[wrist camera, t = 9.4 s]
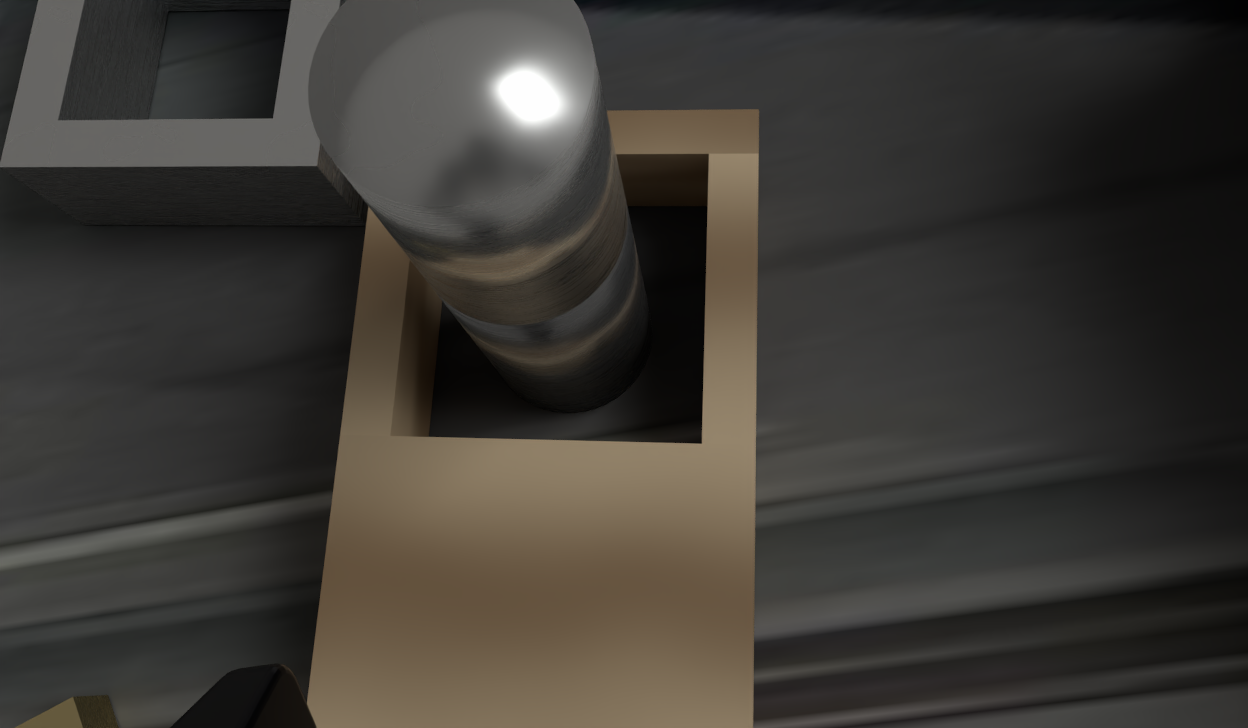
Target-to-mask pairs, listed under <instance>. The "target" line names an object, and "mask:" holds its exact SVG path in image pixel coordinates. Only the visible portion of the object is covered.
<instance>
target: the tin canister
mask: <svg viewBox="0 0 1248 728" xmlns="http://www.w3.org/2000/svg"><path fill="white" fill-rule="evenodd" d="M308 101H309V109H310V114H311V119H312V122H313V125H314V128H315V131H316V134H317V136H318V138H319V140H320V142H321V144H322V146H323V147H324V149H325V151H326V152H327V154H328V155H329V156H330V158H331V159H332V160H333V161H334V163H335V164H336V165H337V167H338V168H339V169H340V171H341V172H342V173H343V174H344V176H345V177H346V178H347V180H348V181H349V182H350V183H351V185H352V186H353V187H354V188H355V190H356V191H357V192H358V194H359V195H360V196H361V197H362V199H363V200H364V201H365V203H366V204H367V205H368V206H369V208H370V209H371V210H372V212H373V213H374V214H375V215H376V217H377V218H378V219H379V220H380V222H381V223H382V224H383V226H384V227H385V228H386V229H387V231H388V232H389V233H390V235H391V236H392V237H393V238H394V240H395V241H396V242H397V244H398V245H399V246H400V247H401V249H402V250H403V251H404V253H405V254H406V255H407V256H408V258H409V259H410V260H411V261H412V263H413V264H414V265H415V267H416V268H417V269H418V270H419V272H420V273H421V274H422V276H423V277H424V278H425V279H426V281H427V282H428V283H429V285H430V286H431V287H432V288H433V290H434V291H435V292H436V294H437V295H438V296H439V297H440V299H441V300H442V301H443V302H444V304H445V305H446V306H447V308H448V309H449V310H450V311H451V313H452V314H453V315H454V317H455V318H456V319H457V320H458V322H459V323H460V324H461V326H462V327H463V328H464V329H465V331H466V332H467V333H468V334H469V336H470V337H471V338H472V340H473V341H474V342H475V343H476V345H477V346H478V347H479V349H480V350H481V351H482V352H483V354H484V355H485V356H486V358H487V359H488V360H489V361H490V363H491V364H492V365H493V367H494V368H495V369H496V370H497V372H498V373H499V374H500V375H501V377H502V378H503V379H504V381H505V382H506V383H507V384H508V386H509V387H510V388H511V389H512V390H513V391H514V392H515V393H516V394H517V395H519V396H520V397H521V398H523V399H524V400H525V401H527V402H529V403H531V404H533V405H535V406H537V407H540V408H542V409H546V410H550V411H554V412H563V413H575V412H582V411H588V410H591V409H595V408H598V407H600V406H602V405H605V404H607V403H609V402H610V401H612V400H614V399H616V398H617V397H618V396H620V395H621V394H622V393H624V392H625V391H626V390H627V389H628V388H629V387H630V386H631V385H632V384H633V383H634V381H635V380H636V379H637V377H638V376H639V375H640V373H641V371H642V369H643V368H644V366H645V364H646V361H647V359H648V356H649V353H650V349H651V344H652V320H651V314H650V310H649V305H648V300H647V296H646V291H645V286H644V282H643V277H642V273H641V268H640V263H639V259H638V254H637V249H636V245H635V240H634V235H633V231H632V226H631V222H630V217H629V212H628V208H627V203H626V198H625V194H624V189H623V185H622V180H621V175H620V171H619V166H618V161H617V157H616V152H615V147H614V143H613V138H612V134H611V129H610V124H609V120H608V115H607V110H606V106H605V101H604V97H603V92H602V87H601V83H600V78H599V73H598V69H597V64H596V59H595V55H594V50H593V46H592V41H591V37H590V34H589V31H588V27H587V24H586V22H585V20H584V18H583V16H582V13H581V11H580V9H579V8H578V6H577V5H576V3H575V2H574V0H346V2H345V3H344V4H343V5H342V6H341V7H340V8H339V9H338V11H337V12H336V13H335V15H334V16H333V18H332V19H331V20H330V22H329V23H328V25H327V27H326V29H325V30H324V32H323V34H322V36H321V38H320V40H319V42H318V45H317V47H316V50H315V53H314V55H313V59H312V63H311V68H310V73H309V82H308Z"/></svg>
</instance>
